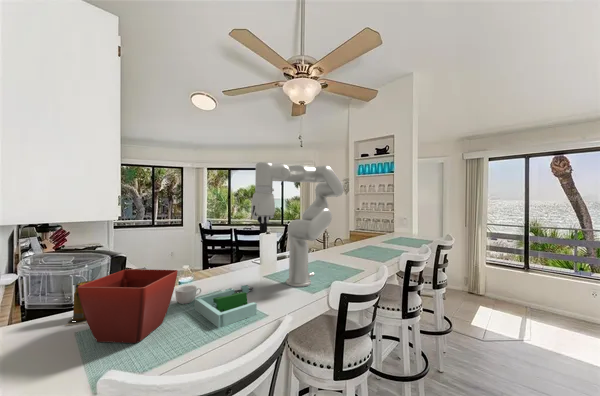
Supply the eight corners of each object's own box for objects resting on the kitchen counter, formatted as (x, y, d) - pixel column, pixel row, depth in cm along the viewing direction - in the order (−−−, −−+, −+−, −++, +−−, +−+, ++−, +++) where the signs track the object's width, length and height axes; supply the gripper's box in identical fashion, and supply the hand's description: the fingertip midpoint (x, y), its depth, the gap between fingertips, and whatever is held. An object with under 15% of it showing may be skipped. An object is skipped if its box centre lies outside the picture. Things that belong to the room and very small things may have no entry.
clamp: (237, 317, 99) (243, 293, 103) (244, 319, 95) (250, 293, 99) (207, 311, 94) (216, 286, 98) (213, 313, 89) (221, 286, 93)
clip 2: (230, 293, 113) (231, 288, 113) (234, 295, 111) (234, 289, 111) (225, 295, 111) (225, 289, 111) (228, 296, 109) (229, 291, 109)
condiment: (100, 312, 93) (100, 278, 93) (93, 322, 85) (94, 285, 85) (74, 316, 90) (75, 281, 90) (64, 326, 82) (65, 288, 82)
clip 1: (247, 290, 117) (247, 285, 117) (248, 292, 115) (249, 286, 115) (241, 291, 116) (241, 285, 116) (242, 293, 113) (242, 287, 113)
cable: (250, 288, 119) (250, 286, 119) (256, 291, 115) (256, 289, 115) (196, 302, 102) (196, 300, 102) (202, 306, 98) (202, 304, 98)
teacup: (178, 307, 98) (178, 293, 98) (172, 301, 103) (172, 287, 103) (204, 300, 104) (204, 287, 104) (197, 295, 110) (197, 282, 110)
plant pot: (123, 317, 89) (124, 268, 89) (178, 318, 88) (179, 269, 89) (73, 348, 70) (75, 286, 70) (142, 350, 69) (143, 288, 70)
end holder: (229, 299, 106) (229, 289, 106) (256, 314, 92) (256, 303, 92) (194, 309, 96) (194, 298, 96) (218, 328, 82) (218, 315, 82)
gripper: (272, 191, 122) (271, 230, 121) (244, 190, 111) (244, 232, 111) (282, 191, 116) (281, 231, 116) (254, 189, 106) (253, 234, 106)
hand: (263, 231), depth 114 cm, fingers closed
